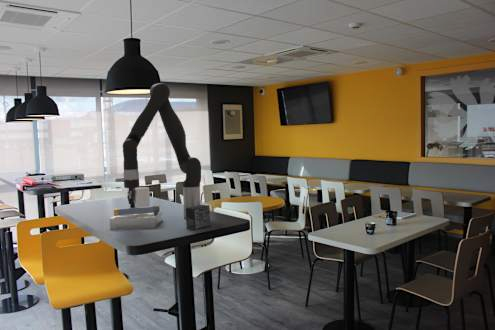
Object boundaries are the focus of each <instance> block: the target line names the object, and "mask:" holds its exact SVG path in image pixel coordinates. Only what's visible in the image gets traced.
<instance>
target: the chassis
mask: <svg viewBox="0 0 495 330" xmlns="http://www.w3.org/2000/svg"><path fill="white" fill-rule="evenodd" d="M162 213H163V212H162V210H160V212H158V213H143V214H130V215H118V216H114V215H113V216H111V217H110V218H109V229H115V230H116V229H141V228H144V229H145V228H155V227H156V226H158V225H159V224H160V223H161V221H163V218H162V216H163V215H162Z"/></svg>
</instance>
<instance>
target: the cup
mask: <svg viewBox="0 0 495 330" xmlns="http://www.w3.org/2000/svg"><path fill="white" fill-rule="evenodd" d="M135 190H136V191H137V196H136V203H135V207H148V206H151V200H150V187H149V186H143V187H142V186H139V187H137V188H135Z"/></svg>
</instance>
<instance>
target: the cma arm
mask: <svg viewBox="0 0 495 330" xmlns="http://www.w3.org/2000/svg"><path fill="white" fill-rule="evenodd" d="M160 208H161V207H160V205H150V206H148V207H134V208H130V207H121V208H113V216H118V215H130V214H143V213H158V212H160V211H161V210H160Z"/></svg>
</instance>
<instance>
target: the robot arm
mask: <svg viewBox="0 0 495 330" xmlns="http://www.w3.org/2000/svg"><path fill="white" fill-rule="evenodd" d="M170 94H171V90H170V88H169V86H168V85H167V84H166V83H163V82H162V83H161V82H160V83H159V82H158V83H154V84H153V85H152V86H151V87H150V90H149V95H150V97H149V100H148V102H147V104H146V106H145V107H144V108H143V110H142V112H141V113H140V114H139V115H138V117H137V118H136V120H135V122H134V123H133V125H132V126H131V129H130V132H129V133H128V135H127V136H126V138H125V140H124V142H123V143H122V156H123V187H124V188H125V189H128V191H127V201H128V204H129V208H134V207H135V203H136V196H137V191H136V190H135V188H139V187H140V173H139V163H138V146H139V144H140V143H141V141H142V139H143V137H144V136H145V134H146V133H147V131H148V129H149V127H150V126H151V124H152V122H153V120H154V118H155V116H156V114H157V113H159V117H160V119H161V122H162V124H163V128H164V130H165V133H166V135H167V137H168V139H169V142H170V144H171V146H172V149H173V151H174V153H175V157H176V160H177V164H178V166H179V169H180V171H181V172H182V173H183V174H185V180H184V181H183V182H182V197H183V198H182V201H183V219H185V220H186V208H188V207H193V206H198V205H202V200H201V182H202V165H201V161H200V160H199V158H198V157H192V156H191V155H190V154H189V151H188V148H187V138H186V136H187V135H186V131H185V129H184V126H183V124H182V121H181V119H180V118H179V116H178V114H177V113H176V111H175V110H174V109H173V107H172V104H171V102H170V99H169V97H170Z"/></svg>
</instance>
